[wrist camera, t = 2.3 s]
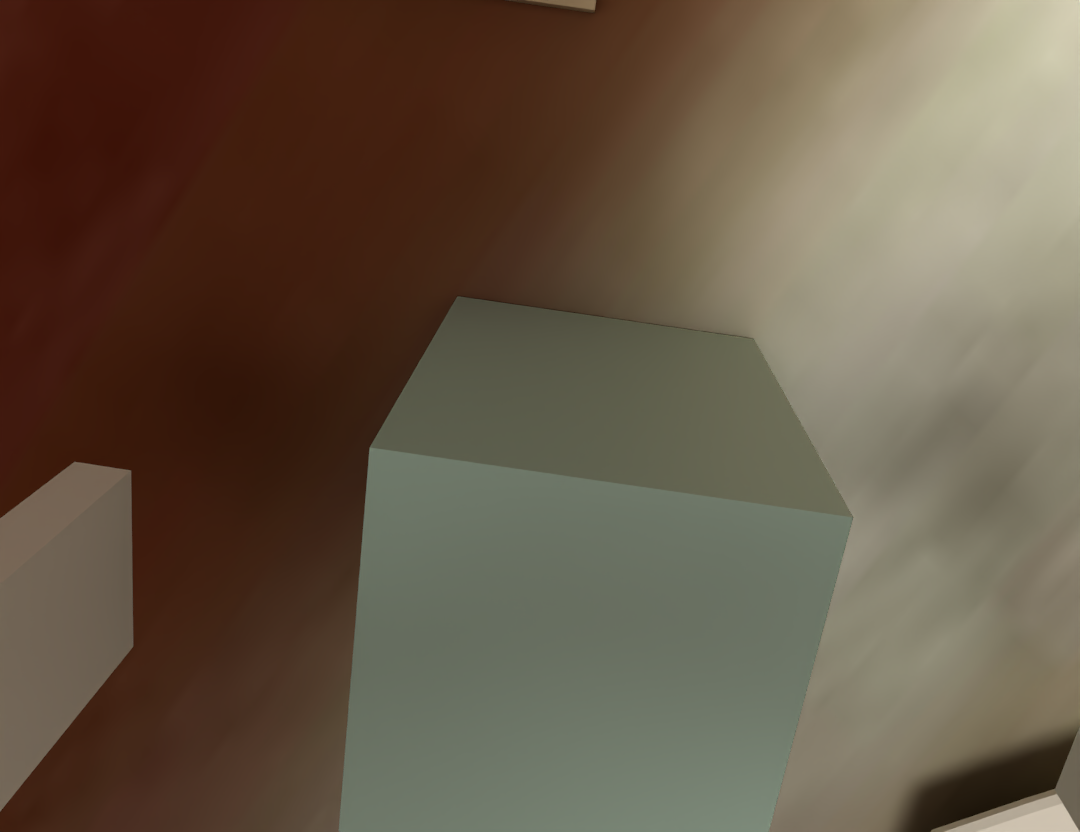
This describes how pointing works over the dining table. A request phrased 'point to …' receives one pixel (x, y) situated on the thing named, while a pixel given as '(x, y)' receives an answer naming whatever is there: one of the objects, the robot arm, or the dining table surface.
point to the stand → (564, 4)
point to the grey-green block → (585, 582)
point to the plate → (1019, 817)
